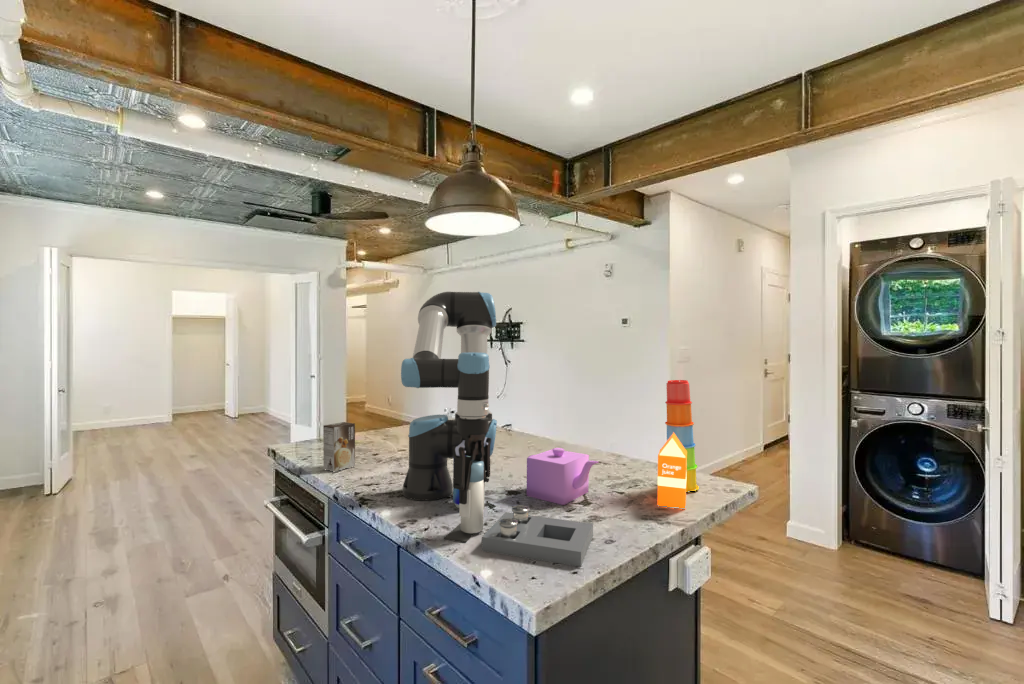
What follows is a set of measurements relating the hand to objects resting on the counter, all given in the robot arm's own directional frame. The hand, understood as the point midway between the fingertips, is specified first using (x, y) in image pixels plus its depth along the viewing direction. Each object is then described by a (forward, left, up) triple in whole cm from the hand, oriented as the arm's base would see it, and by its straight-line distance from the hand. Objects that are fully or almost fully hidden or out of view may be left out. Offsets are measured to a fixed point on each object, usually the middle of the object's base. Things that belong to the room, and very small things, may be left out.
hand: (472, 512), depth 114 cm
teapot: (+14, +36, -6) cm, 39 cm away
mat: (0, 0, -5) cm, 5 cm away
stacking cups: (+49, +56, -5) cm, 75 cm away
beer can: (-9, +18, -5) cm, 21 cm away
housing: (+17, -1, -5) cm, 18 cm away
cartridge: (0, 0, -4) cm, 4 cm away
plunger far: (+11, +4, -3) cm, 12 cm away
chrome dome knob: (+11, -5, -3) cm, 13 cm away
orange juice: (+46, +40, -5) cm, 61 cm away
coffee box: (-68, +37, -5) cm, 78 cm away
